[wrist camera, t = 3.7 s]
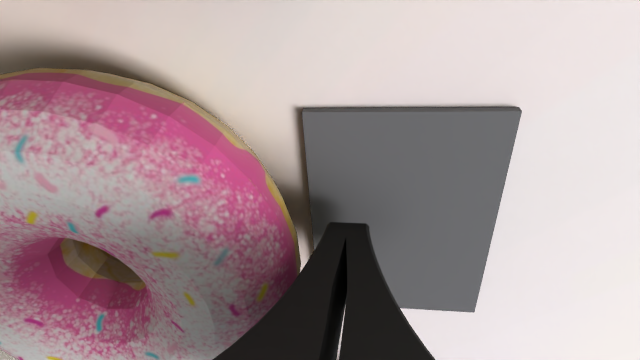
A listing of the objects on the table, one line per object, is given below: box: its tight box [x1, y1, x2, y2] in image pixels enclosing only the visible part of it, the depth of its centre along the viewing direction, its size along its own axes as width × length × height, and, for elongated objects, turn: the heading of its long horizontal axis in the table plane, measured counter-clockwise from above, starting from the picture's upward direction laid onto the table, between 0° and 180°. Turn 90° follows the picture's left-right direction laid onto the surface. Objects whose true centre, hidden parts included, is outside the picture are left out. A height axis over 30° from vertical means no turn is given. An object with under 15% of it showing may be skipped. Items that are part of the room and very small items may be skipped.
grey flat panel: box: [302, 107, 522, 312], centre depth 15 cm, size 9×6×1 cm
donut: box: [0, 68, 301, 360], centre depth 14 cm, size 14×13×5 cm
